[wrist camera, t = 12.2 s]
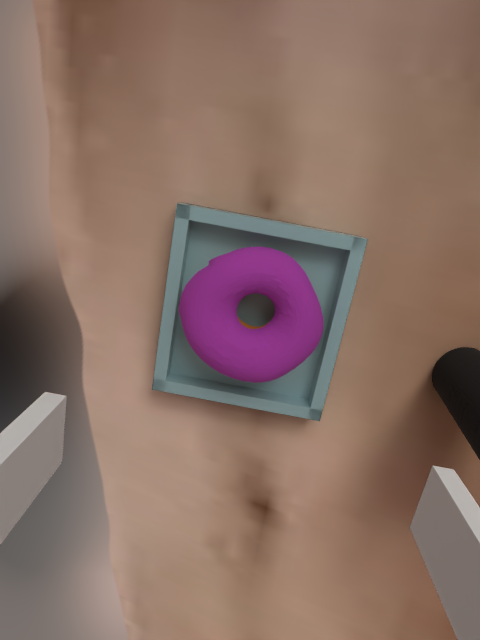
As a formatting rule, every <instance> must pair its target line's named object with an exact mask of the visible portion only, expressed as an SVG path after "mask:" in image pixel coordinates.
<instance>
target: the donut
mask: <svg viewBox="0 0 480 640" xmlns="http://www.w3.org/2000/svg"><path fill="white" fill-rule="evenodd" d="M256 293H258V294H262V295H265V296H267V297H268V298H269V299H271V300H272V302H273V304H274V307H275V313H274V316H273V318H272V319H271V321H270V322H268V323H267V324H265V325H263V326H251V325H248V324H246V323H245V322H243V321H241V320H240V319H239V318H238V316H237V307H238V304H239V302H240V301H241V300H242V299H243V298H244V297H245V296H247V295H249V294H256ZM179 314H180V317H181V321H182V326H183V330H184V333H185V336H186V338H187V341H188V342H189V344H190V346H191V347H192V349H193V350H194V352H195V353H196V354H197V355H198V356H199V357H200V358H201V360H203V361H204V362H205V363H206V364H207V365H209V366H210V367H211V368H213V369H214V370H216V371H218V372H219V373H221V374H223V375H226V376H228V377H230V378H233V379H237V380H240V381H245V382H253V383H259V382H268V381H272V380H275V379H278V378H279V377H281V376H283V375H285V374H287V373H288V372H290V371H292V370H293V369H295V368H296V367H297V366H299V365H300V364H301V363H302V362H304V361H305V360H306V359H307V358H308V357H309V356H310V355H311V354H312V352H313V351H314V350H315V348H316V347H317V345H318V344H319V342H320V339H321V337H322V334H323V329H324V322H323V314H322V310H321V306H320V303H319V300H318V298H317V295H316V293H315V291H314V288H313V286H312V284H311V282H310V280H309V278H308V276H307V274H306V273H305V271H304V270H303V269H302V268H301V266H300V265H299V264H298V263H297V262H296V261H295V260H294V259H293V258H292V257H291V256H289V255H288V254H285V253H283V252H281V251H278V250H275V249H272V248H268V247H259V246H257V247H245V248H240V249H236V250H234V251H231V252H229V253H226V254H223V255H220V256H218V257H215V258H213V259H211V260H209V265H208V266H206V267H205V268H203V269H201V270H200V271H198V272H197V273H196V274H195V275H194V276H193V277H192V278H191V279H190V281H189V282H188V283H187V284H186V286H185V288H184V290H183V292H182V294H181V299H180V304H179Z"/></svg>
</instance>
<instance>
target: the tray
mask: <svg viewBox="0 0 480 640" xmlns="http://www.w3.org/2000/svg"><path fill="white" fill-rule="evenodd" d="M367 240H368V239H366V238H363V237H361V236H356V235H351V234H345V233H340V232H335V231H330V230H324V229H319V228H314V227H309V226H303V225H298V224H293V223H287V222H282V221H277V220H272V219H266V218H261V217H256V216H250V215H245V214H240V213H235V212H229V211H224V210H219V209H214V208H208V207H203V206H198V205H192V204H187V203H177V208H176V215H175V222H174V230H173V237H172V245H171V252H170V260H169V267H168V275H167V282H166V290H165V297H164V305H163V312H162V319H161V327H160V334H159V342H158V349H157V357H156V364H155V372H154V379H153V387H152V390H157V391H163V392H168V393H173V394H179V395H184V396H189V397H195V398H200V399H205V400H210V401H216V402H221V403H226V404H232V405H237V406H242V407H247V408H253V409H258V410H263V411H269V412H274V413H279V414H285V415H290V416H295V417H300V418H306V419H311V420H316V421H320V418H321V414H322V410H323V407H324V403H325V399H326V395H327V392H328V388H329V384H330V380H331V376H332V373H333V369H334V365H335V361H336V358H337V354H338V350H339V346H340V342H341V339H342V335H343V331H344V327H345V324H346V320H347V316H348V312H349V308H350V305H351V301H352V297H353V293H354V290H355V286H356V282H357V278H358V274H359V271H360V267H361V263H362V259H363V255H364V252H365V248H366V244H367ZM257 246H259V247H268V248H272V249H275V250H278V251H281V252H283V253H285V254H288V255H289V256H291V257H292V258H293V259H294V260H295V261H296V262H297V263H298V264H299V265H300V266H301V268H302V269H303V270H304V271H305V273H306V274H307V276H308V278H309V280H310V282H311V284H312V286H313V288H314V291H315V293H316V295H317V298H318V300H319V303H320V306H321V310H322V314H323V322H324V329H323V334H322V337H321V339H320V342H319V344H318V345H317V347H316V348H315V350H314V351H313V352H312V354H311V355H310V356H309V357H308V358H307V359H306V360H305V361H304V362H302V363H301V364H300V365H299V366H297V367H296V368H295V369H293V370H292V371H290V372H288V373H287V374H285V375H283V376H281V377H279V378H278V379H275V380H272V381H268V382H259V383H253V382H245V381H240V380H237V379H233V378H230V377H228V376H226V375H223V374H221V373H219V372H218V371H216V370H214V369H213V368H211V367H210V366H209V365H207V364H206V363H205V362H204V361H203V360H201V358H200V357H199V356H198V355H197V354H196V353H195V352H194V350H193V349H192V347H191V346H190V344H189V342H188V341H187V338H186V336H185V333H184V330H183V326H182V321H181V317H180V314H179V304H180V299H181V294H182V292H183V290H184V288H185V286H186V284H187V283H188V282H189V281H190V279H191V278H192V277H193V276H194V275H195V274H196V273H197V272H198V271H200V270H201V269H203V268H205V267H206V266H208V265H209V260H211V259H213V258H215V257H218V256H220V255H223V254H226V253H229V252H231V251H234V250H236V249H240V248H245V247H257ZM274 313H275V307H274V304H273V302H272V300H271V299H269V298H268V297H267V296H265V295H262V294H258V293H256V294H249V295H247V296H245V297H244V298H243V299H242V300H241V301H240V302H239V304H238V307H237V316H238V318H239V319H240V320H241V321H243V322H245V323H246V324H248V325H251V326H263V325H265V324H267V323H268V322H270V321H271V319H272V318H273V316H274Z"/></svg>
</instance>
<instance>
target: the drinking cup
mask: <svg viewBox="0 0 480 640" xmlns="http://www.w3.org/2000/svg"><path fill="white" fill-rule="evenodd" d="M432 381H433V385H434V387H435V389H436V391H437V392H438V394H439V395H440V397H441V399H442V400H443V402H444V404H445V405H446V407H447V408H448V410H449V412H450V413H451V415H452V416H453V418H454V420H455V421H456V423H457V424H458V426H459V428H460V429H461V431H462V432H463V434H464V436H465V437H466V439H467V440H468V442H469V444H470V445H471V447H472V449H473V450H474V452H475V453H476V455H477V457H478V458H479V460H480V351H479V350H477V349H474V348H469V347H463V348H457V349H454V350H451V351H449V352H447V353H446V354H444V355H443V356H442V357H441V358H440V359H439V360H438V361H437V363H436V365H435V367H434V369H433V373H432Z"/></svg>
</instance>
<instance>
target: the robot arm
mask: <svg viewBox="0 0 480 640" xmlns="http://www.w3.org/2000/svg"><path fill="white" fill-rule="evenodd" d="M66 397H67V396H64V395H59V394H53V393H48V392H45V393H44V394H43V395H41V396H40V397H39V398H38V399H37V400H36V401H35V402H34V403H33V404H32V405H31V406H29V407H28V408H27V409H26V410H25V411H24V412H23V413H22V414H21V415H20V416H19V417H17V418H16V419H15V421H13V422H12V423H11V424H10V425H9V426H8V427H7V428H6V429H5V430H3V431H2V432H1V433H0V545H1V543H2V542H3V541H4V539H5V538H6V537H7V535H8V534H9V532H10V531H11V530H12V529H13V527H14V526H15V525H16V523H17V522H18V521H19V519H20V518H21V516H22V515H23V514H24V512H25V511H26V510H27V508H28V507H29V506H30V504H31V503H32V502H33V500H34V499H35V498H36V496H37V495H38V494H39V492H40V491H41V490H42V488H43V487H44V486H45V484H46V483H47V482H48V480H49V479H50V477H51V476H52V475H53V473H54V472H55V471H56V469H57V468H58V467H59V465H60V464H61V463H62V456H63V441H64V425H65V412H66ZM410 530H411V532H412V535H413V537H414V539H415V542H416V544H417V546H418V549H419V551H420V553H421V556H422V558H423V560H424V563H425V565H426V567H427V570H428V572H429V574H430V577H431V579H432V581H433V584H434V586H435V588H436V591H437V593H438V595H439V598H440V600H441V602H442V605H443V607H444V609H445V612H446V614H447V616H448V619H449V621H450V623H451V626H452V628H453V630H454V633H455V635H456V638H457V640H480V507H479V506H478V504H477V503H476V501H475V500H474V498H473V497H472V496H471V494H470V493H469V491H468V490H467V488H466V487H465V485H464V484H463V482H462V481H461V479H460V478H459V476H458V475H457V473H456V472H455V470H454V469H449V468H444V467H438V466H432V468H431V471H430V474H429V476H428V479H427V482H426V485H425V487H424V490H423V493H422V495H421V498H420V501H419V504H418V506H417V509H416V512H415V514H414V517H413V520H412V523H411V525H410Z"/></svg>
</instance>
